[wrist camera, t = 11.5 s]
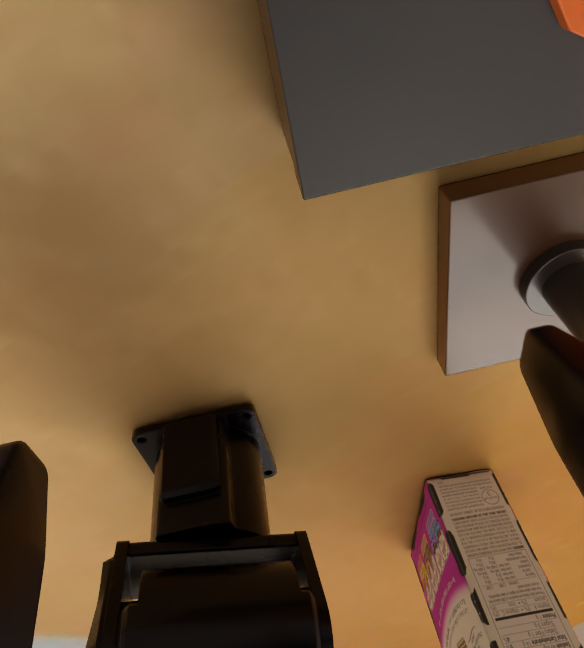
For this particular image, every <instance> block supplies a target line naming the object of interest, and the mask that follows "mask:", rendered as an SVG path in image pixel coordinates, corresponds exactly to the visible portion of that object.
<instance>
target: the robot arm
mask: <svg viewBox="0 0 584 648" xmlns="http://www.w3.org/2000/svg"><path fill="white" fill-rule="evenodd" d="M520 368H521V372H522V375H523V377H524V379H525V382H526V384H527V386H528V388H529V391H530V393H531V395H532V397H533V400H534V402H535V404H536V406H537V409H538V411H539V413H540V415H541V418H542V420H543V422H544V425H545V427H546V429H547V431H548V434H549V436H550V438H551V440H552V442H553V444H554V446H555V448H556V450H557V452H558V454H559V456H560V457H561V459H562V461H563V463H564V464H565V466H566V468H567V469H568V471H569V473H570V475H571V476H572V478H573V480H574V481H575V483H576V485H577V486H578V488H579V490H580V492H581V493H582V495H583V497H584V341H582V340H580V339H578V338H576V337H574V336H572V335H571V334H569V333H567V332H565V331H563V330H561V329H559V328H557V327H555V326H553V325H544V326H539V327H534V328H530V329H528V330H527V331H526V333H525V336H524V341H523V346H522V352H521V357H520ZM132 442H133V443H134V445H135V446H136V448H137V449H138V451H139V452H140V454H141V455H142V457H143V458H144V460H145V461H146V463H147V464H148V466H149V467H150V469H151V470H152V472H153V473H154V474H155V476H154V492H153V508H152V524H151V540H150V542H138V543H130V542H129V541H118V542H117V544H116V550H115V555H114V557H113V558H111V559H109V560H107V561H105V562H103V568H102V576H101V584H100V591H99V597H98V602H97V607H96V611H95V614H94V618H93V622H92V626H91V630H90V633H89V637H88V641H87V645H86V648H334V647H333V634H332V626H331V620H330V614H329V610H328V606H327V602H326V598H325V595H324V591H323V588H322V584H321V581H320V578H319V574H318V571H317V567H316V564H315V560H314V557H313V554H312V550H311V547H310V543H309V540H308V537H307V533H306V531H295V532H294V534H276V535H270V529H269V520H268V511H267V502H266V493H265V485H264V478H269V477H272V476H274V475H275V474H276V473H277V471H276V464H275V462H274V459H273V456H272V454H271V451H270V448H269V446H268V443H267V440H266V437H265V435H264V432H263V429H262V427H261V424H260V421H259V419H258V416H257V413H256V411H255V408H254V407H253V406H252V405H250V404H242V405H237V406H233V407H229V408H224V409H220V410H216V411H211V412H207V413H203V414H198V415H194V416H190V417H185V418H181V419H177V420H172V421H168V422H164V423H159V424H155V425H151V426H146V427H142V428H138V429H136V430H134V431H133V435H132ZM47 491H48V474H47V470H46V467H45V465H44V464H43V463H42V462H41V460H40V459H39V458H38V457H37V456H36V455H35V453H34V452H33V451H32V450H31V449H30V447H29V446H28V445H27V444H26V443H25V442H22V441H15V442H10V443H6V444H1V445H0V648H32V644H33V637H34V630H35V623H36V617H37V610H38V603H39V597H40V590H41V583H42V576H43V569H44V561H45V547H46V519H47ZM132 599H138V601H132Z"/></svg>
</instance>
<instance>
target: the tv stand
mask: <svg viewBox="0 0 584 648" xmlns="http://www.w3.org/2000/svg"><path fill="white" fill-rule="evenodd" d="M257 2H258V7H259V12H260V17H261V22H262V27H263V32H264V37H265V42H266V48H267V53H268V58H269V63H270V68H271V73H272V78H273V83H274V88H275V93H276V98H277V103H278V108H279V113H280V118H281V123H282V128H283V133H284V136H285V139H286V142H287V145H288V148H289V151H290V154H291V157H292V160H293V163H294V168H295V174H296V178H297V181H298V184H299V187H300V191H301V194H302V197H303V199H304V200H307V199H311V198H315V197H319V196H324V195H328V194H332V193H336V192H340V191H345V190H349V189H353V188H357V187H361V186H366V185H370V184H374V183H378V182H383V181H387V180H391V179H395V178H399V177H404V176H408V175H412V174H416V173H421V172H425V171H429V170H433V169H437V168H442V167H446V166H450V165H454V164H459V163H463V162H467V161H471V160H475V159H480V158H484V157H488V156H492V155H497V154H501V153H505V152H509V151H513V150H518V149H522V148H526V147H530V146H534V145H539V144H543V143H547V142H551V141H556V140H560V139H564V138H568V137H572V136H577V135H581V134H584V38H583V37H581V36H579V35H577V34H574V33H572V32H570V31H568V30H566V29H563V28H562V27H561V26H560V24H559V22H558V20H557V17H556V15H555V13H554V10H553V8H552V5H551V3H550V1H549V0H257Z"/></svg>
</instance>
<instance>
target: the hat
mask: <svg viewBox="0 0 584 648" xmlns="http://www.w3.org/2000/svg"><path fill="white" fill-rule="evenodd" d="M549 1H550V3H551V5H552V8H553V10H554V13H555V15H556V17H557V20H558V22H559V24H560V26H561V27H562V28H563V29H566V30H568V31H570V32H572V33H574V34H577V35H579V36H581V37H583V38H584V0H549Z"/></svg>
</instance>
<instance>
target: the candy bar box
mask: <svg viewBox="0 0 584 648" xmlns="http://www.w3.org/2000/svg"><path fill="white" fill-rule="evenodd" d="M411 557H412V559H413V562H414V565H415V568H416V571H417V574H418V577H419V580H420V583H421V586H422V589H423V592H424V596H425V599H426V602H427V605H428V608H429V611H430V614H431V617H432V620H433V623H434V626H435V629H436V632H437V635H438V638H439V641H440V644H441V648H583V647H582V645H581V643H580V641H579V640H578V638H577V636H576V634H575V632H574V630H573V628H572V626H571V624H570V622H569V620H568V618H567V617H566V615H565V613H564V611H563V609H562V607H561V605H560V603H559V601H558V599H557V597H556V595H555V593H554V591H553V589H552V588H551V586H550V583H549V581H548V579H547V577H546V575H545V573H544V571H543V569H542V567H541V565H540V564H539V562H538V560H537V558H536V556H535V554H534V552H533V550H532V548H531V546H530V544H529V542H528V540H527V538H526V536H525V534H524V532H523V530H522V528H521V526H520V524H519V522H518V520H517V518H516V516H515V514H514V512H513V510H512V508H511V506H510V505H509V503H508V501H507V499H506V497H505V495H504V493H503V491H502V489H501V486H500V485H499V483H498V481H497V479H496V477H495V475H494V473H493V471H492V470H482V471H473V472H468V473H464V474H458V475H453V476H448V477H441V478H435V479H430V480H426V482H425V487H424V492H423V497H422V503H421V508H420V513H419V518H418V523H417V528H416V533H415V537H414V542H413V547H412V552H411Z"/></svg>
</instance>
